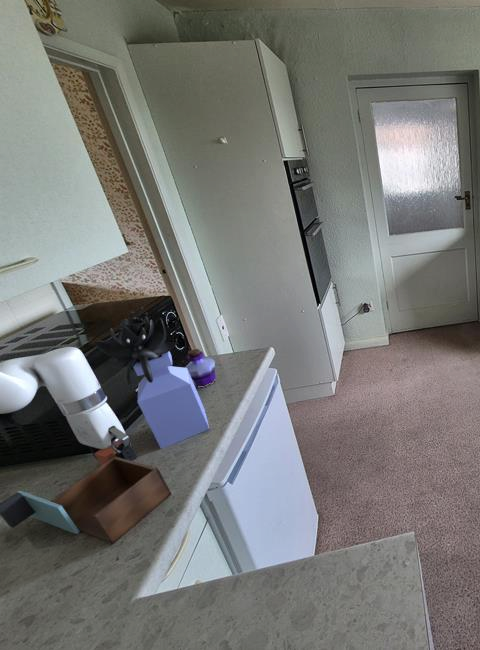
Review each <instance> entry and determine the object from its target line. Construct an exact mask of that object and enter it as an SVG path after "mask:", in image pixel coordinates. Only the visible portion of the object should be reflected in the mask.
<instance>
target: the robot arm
mask: <svg viewBox="0 0 480 650" xmlns="http://www.w3.org/2000/svg"><path fill="white" fill-rule="evenodd" d="M41 387H46V389H47V390H48V392H49V394H50V395H51V398H53V399H54V400H53V401H54V402H55V403H56V406H57V407H58V408H59V410H60V411H61V413H62V415H63V416H65V418H66V420H67V422H68V424H69V426H70V428H71V431H72V432H73V434H74V436H75V438H76V440H77V441H78V443H80V444H82V445H85V446H87V447H88V449H89V451H90V452H91V453H92V455H93V457H94V458H95V459H96V460H98V459H97V458H96V456H95V454H94V453H96V452H97V451H99V450H101V449H106V448H108V446H110V447H111V448H112V449H113V450H114V451H115V452H116V453H115V456H116V457H119V458H123V459H126V460H130V461H135V460H136V459H137V458H138V456H137V454H136V452H135V450H134V448H133V446H132V443H131V440H130V436H129V435H127V434H126V431H125V429H124V427H123V425H122V423H121V421H120V420H119V419H118V417H117V416H116V414H115V412H114V411H113V409H112V408H111V407H110V405H109V404H108V403H107V400H108V396H107V395H106V393H105V391H104V390H103V389H104V388H103V387H102V385H101V383H100V382H99V380H98V378H97V377H96V375H95V373H94V371H93V369H92V367H91V366H90V364H89V362H88V359H86V357H85V355H84V353H83V352H82V350H81V349H79V348H78V347H75V346H65V347H59V348H56V349H52V350H50V351H48V352H45V353H41V354H36V355H29V356H24V357H23V356H22V357H15V358H11V359H8V360H4V361H2V362H0V414H1V415H2V414H10V413H14V412H17V411H19V410H21V409H23V408H25V407H26V406H28V405H29V404H31V402H32V401H33V399H34V397H35V396H36V393H37V391H38V389H39V388H41ZM114 438H115V439H114ZM112 439H113V440H112ZM118 441H119V442H120V443H121V444H119V446H118V447H117V446H116V445H115V443H116V442H118Z"/></svg>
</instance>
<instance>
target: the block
mask: <svg viewBox="0 0 480 650" xmlns="http://www.w3.org/2000/svg"><path fill="white" fill-rule="evenodd" d="M119 444H121V443H120V441H118V442H116V443H115V445H116V446H117V447H118V446H119ZM115 453H116V452H115V451H114V450H113V449H112V448H111V447H110V446H108V448H106V449H101V450H99V451H97V452H96V453H94V454H95V456H96V458H97V459H96V458H95V459H96V460H97V461H98V463H99V465H100V466H102V465H103V464H104V463H106V462H107V461H109V460H110V459H112V458H113V457H115Z"/></svg>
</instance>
